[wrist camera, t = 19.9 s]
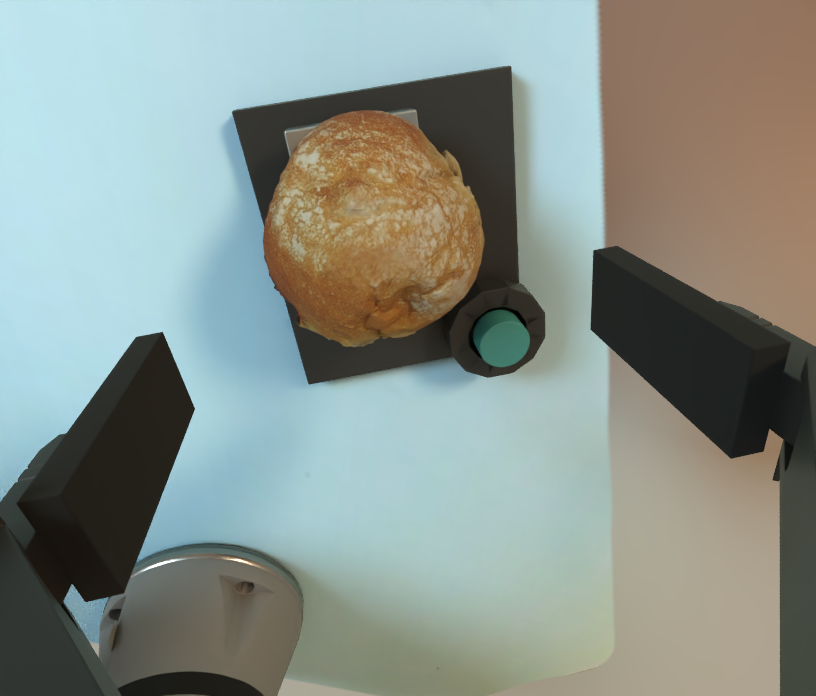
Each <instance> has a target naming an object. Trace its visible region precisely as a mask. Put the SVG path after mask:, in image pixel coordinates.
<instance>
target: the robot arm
mask: <svg viewBox="0 0 816 696" xmlns="http://www.w3.org/2000/svg"><path fill="white" fill-rule="evenodd" d="M591 330H592V331H593V332H594V333H595V334H596V335H597V336H598V337H599V338H600V339H601V340H603V341H604V342H605V343H606V344H607V345H608V346H609V347H610V348H611V349H612V350H613V351H615V352H616V353H617V354H618V355H619V356H620V357H621V358H622V359H623V360H624V361H625V362H627V363H628V364H629V365H630V366H631V367H632V368H633V369H634V370H635V371H636V372H637V373H639V374H640V375H641V376H642V377H643V378H644V379H645V380H646V381H647V382H648V383H649V384H650V385H652V386H653V387H654V388H655V389H656V390H657V391H658V392H659V393H660V394H661V395H662V396H663V397H665V398H666V399H667V400H668V401H669V402H670V403H671V404H672V405H673V406H674V407H675V408H676V409H678V410H679V411H680V412H681V413H682V414H683V415H684V416H685V417H686V418H687V419H688V420H690V421H691V422H692V423H693V424H694V425H695V426H696V427H697V428H698V429H699V430H700V431H702V432H703V433H704V434H705V435H706V436H707V437H708V438H709V439H710V440H711V441H712V442H713V443H715V444H716V445H717V446H718V447H719V448H720V449H721V450H722V451H723V452H724V453H725V454H727V455H728V456H729V457H730V458H735V457H741V456H745V455H750V454H754V453H758V452H763V451H764V447H765V443H766V439H767V436H768V431H769V429H771V430H772V431H774V432H775V433H776V434H777V435H778V436H780V437H781V438H782V439H784V440H783V444H782V447H781V451H780V454H779V458H778V462H777V465H776V469H775V473H774V476H773V480H775V481H779V480H780V696H816V347H815V346H813V345H811V344H810V343H808V342H806V341H804V340H802V339H800V338H798V337H796V336H795V335H793V334H791V333H789V332H787V331H785V330H783V329H782V328H780V327H778V326H775V325H774V326H773V325H772V323H770V322H769V321H767V320H765V319H763V318H760V319H759V316H757V315H756V314H753V313H752V312H750V311H748V310H746V309H744V308H742V307H739V306H736V305H732V304H728V303H725V302H722V301H718V302H717V301H715V300H714V299H712V298H710V297H708V296H706V295H705V294H703V293H701V292H699V291H697V290H696V289H694V288H692V287H690V286H688V285H687V284H685V283H683V282H681V281H679V280H678V279H676V278H674V277H672V276H671V275H669V274H667V273H665V272H663V271H662V270H660V269H658V268H656V267H654V266H653V265H651V264H649V263H647V262H645V261H644V260H642V259H640V258H638V257H636V256H635V255H633V254H631V253H629V252H627V251H625V250H624V249H622V248H620V247H618V246H614V247H609V248H603V249H598V250H594V252H593V280H592V307H591ZM194 410H195V408H194V405H193V403H192V401H191V398H190V396H189V394H188V391H187V389H186V386H185V384H184V382H183V379H182V377H181V374H180V372H179V370H178V367H177V365H176V362H175V360H174V358H173V355H172V353H171V351H170V348H169V346H168V343H167V341H166V339H165V336H164V334H163V332H160V333H155V334H150V335H145V336H139V337H136V338H135V339H134V341H133V342H132V343H131V345H130V346H129V348H128V349H127V350H126V352H125V353H124V355H123V356H122V357H121V359H120V360H119V361H118V363H117V364H116V366H115V367H114V368H113V370H112V371H111V373H110V374H109V375H108V377H107V378H106V379H105V381H104V382H103V384H102V385H101V386H100V388H99V389H98V391H97V392H96V393H95V395H94V396H93V397H92V399H91V400H90V402H89V403H88V404H87V406H86V407H85V409H84V410H83V411H82V413H81V414H80V416H79V417H78V418H77V420H76V421H75V422H74V424H73V425H72V427H71V428H70V429H69V431H68V432H67V433H66V434H61V435H58V436H57V437H56V438H55V439H53V440H52V441H51V442H50V443H48V444H47V445H46V446H45V447H43V448H42V449H41V450H40V451H39V452H38V453H37V455H36V456H35V457H34V459H33V460H32V461H31V463H30V464H29V465H28V469H25V470H24V472H23V473H22V474H21V476H20V477H19V478H18V482H16V483H15V484H14V485H13V486H12V487H11V489H10V490H9V491H8V493H7V494H6V495H5V497H4V498H3V499H2V501H1V502H0V696H277V694H278V692H279V689H280V687H281V684H282V681H283V679H284V676H285V673H286V671H287V668H288V666H289V663H290V660H291V658H292V655H293V653H294V650H295V647H296V645H297V642H298V639H299V636H300V631H301V626H302V621H303V595H302V592H301V589H300V587H299V585H298V583H297V581H296V580H295V578H294V577H293V576H292V575H291V573H290V572H289V571H288V570H286V569H285V568H284V567H283V566H282V565H280V564H279V563H277V562H276V561H274V560H273V559H271V558H269V557H267V556H265V555H262V554H260V553H257V552H255V551H251V550H248V549H244V548H240V547H235V546H229V545H219V544H196V545H187V546H181V547H176V548H172V549H168V550H164V551H161V552H158V553H156V554H153V555H151V556H148V557H146V558H145V559H143V560H141V561H139V562H138V563H136V561H137V558H138V556H139V553H140V551H141V548H142V545H143V543H144V540H145V538H146V535H147V532H148V530H149V527H150V525H151V522H152V519H153V517H154V514H155V512H156V509H157V506H158V504H159V501H160V499H161V496H162V493H163V491H164V488H165V486H166V483H167V480H168V478H169V475H170V472H171V470H172V467H173V465H174V462H175V459H176V457H177V454H178V452H179V449H180V446H181V444H182V441H183V439H184V436H185V433H186V431H187V428H188V426H189V423H190V420H191V418H192V415H193V413H194ZM71 584H73V585H74V586H75V588H76V589H77V591H78V592H79V594H80V595H81V596H82V598H83V599H84V601H85V602H88V601H93V600H97V599H102V598H106V597H109V598H108V601H107V603H106V605H105V608H104V611H103V616H102V620H101V625H100V639H99V658H98V656H97V654H96V653H95V651H94V649H93V648H92V646H91V644H90V643H89V641H88V640H87V638H86V636H85V635H84V633H83V631H82V630H81V628H80V626H79V625H78V623H77V621H76V620H75V618H74V616H73V615H72V613H71V612H70V610H69V609H68V608H67V606H66V605H65V603H64V602H63V601H64V598H65V596H66V594H67V592H68V590H69V588H70V586H71Z"/></svg>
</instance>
